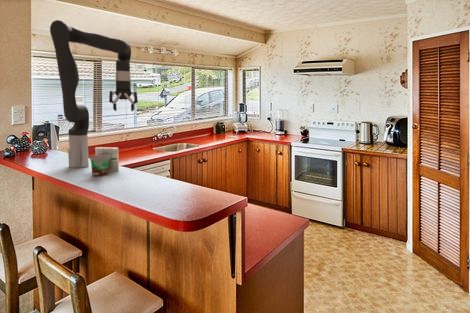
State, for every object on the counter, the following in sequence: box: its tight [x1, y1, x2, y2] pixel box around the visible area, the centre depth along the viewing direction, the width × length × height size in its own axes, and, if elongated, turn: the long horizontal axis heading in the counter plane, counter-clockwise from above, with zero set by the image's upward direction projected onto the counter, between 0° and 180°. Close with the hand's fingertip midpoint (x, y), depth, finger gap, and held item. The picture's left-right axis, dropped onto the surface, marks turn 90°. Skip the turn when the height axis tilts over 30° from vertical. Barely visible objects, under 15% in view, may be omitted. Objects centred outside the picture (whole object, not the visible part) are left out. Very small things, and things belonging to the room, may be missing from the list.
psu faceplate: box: [94, 146, 120, 172], centre depth 184 cm, size 11×2×12 cm, turn 100°
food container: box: [89, 153, 110, 177], centre depth 175 cm, size 12×6×10 cm, turn 172°
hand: (123, 111), depth 191 cm, fingers open, 8 cm apart
